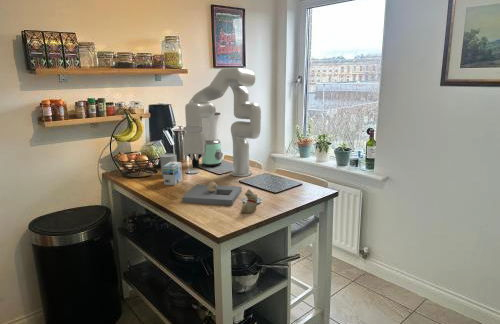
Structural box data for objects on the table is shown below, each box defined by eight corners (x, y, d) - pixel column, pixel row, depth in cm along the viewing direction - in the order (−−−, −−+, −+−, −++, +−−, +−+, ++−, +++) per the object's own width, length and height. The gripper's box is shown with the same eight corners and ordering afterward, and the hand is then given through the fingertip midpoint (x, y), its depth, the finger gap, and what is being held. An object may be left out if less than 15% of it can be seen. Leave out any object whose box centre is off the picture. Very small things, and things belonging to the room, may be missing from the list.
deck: (197, 188, 182) (196, 184, 181) (241, 191, 177) (241, 186, 177) (182, 202, 163) (182, 197, 162) (232, 205, 158) (232, 200, 158)
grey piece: (181, 174, 209) (179, 154, 206) (169, 178, 201) (168, 157, 198) (169, 172, 214) (168, 152, 211) (158, 176, 206) (156, 155, 203)
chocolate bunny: (259, 212, 150) (259, 190, 147) (241, 213, 149) (240, 191, 146) (257, 207, 155) (256, 186, 153) (239, 209, 154) (239, 187, 151)
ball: (208, 189, 172) (208, 180, 171) (218, 190, 172) (218, 180, 170) (205, 193, 168) (205, 183, 166) (215, 193, 167) (215, 183, 166)
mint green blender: (228, 164, 231) (226, 111, 223) (215, 168, 221) (213, 113, 212) (206, 160, 242) (204, 110, 233) (193, 164, 231) (190, 112, 222)
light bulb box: (175, 185, 188) (173, 166, 185) (163, 185, 189) (162, 165, 187) (182, 179, 198) (181, 161, 196) (171, 179, 199) (170, 161, 197)
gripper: (176, 130, 161) (178, 168, 166) (206, 131, 159) (208, 170, 163) (182, 128, 169) (184, 165, 173) (211, 129, 166) (212, 166, 170)
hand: (195, 167), depth 168 cm, fingers closed
